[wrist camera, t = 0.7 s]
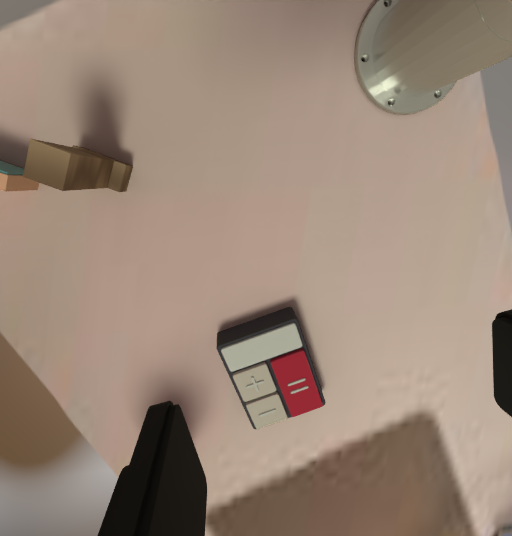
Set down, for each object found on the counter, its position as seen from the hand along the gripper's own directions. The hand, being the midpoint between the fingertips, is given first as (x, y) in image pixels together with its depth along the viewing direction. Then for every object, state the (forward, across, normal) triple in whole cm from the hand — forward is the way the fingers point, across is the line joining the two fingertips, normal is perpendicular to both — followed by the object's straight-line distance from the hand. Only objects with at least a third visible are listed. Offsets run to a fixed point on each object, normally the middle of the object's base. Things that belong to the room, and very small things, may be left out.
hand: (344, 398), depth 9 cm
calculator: (+32, +2, +19) cm, 38 cm away
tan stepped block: (+32, +15, -11) cm, 37 cm away
